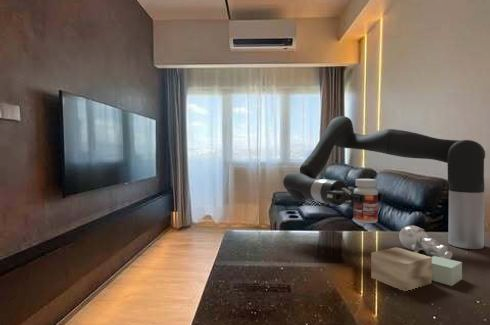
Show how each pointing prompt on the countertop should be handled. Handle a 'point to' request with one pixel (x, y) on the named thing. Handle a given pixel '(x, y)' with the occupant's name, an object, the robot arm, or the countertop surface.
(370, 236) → the countertop surface
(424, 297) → the countertop surface
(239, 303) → the countertop surface
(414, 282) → the oak block
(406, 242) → the figurine
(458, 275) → the sage block
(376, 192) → the pill bottle
